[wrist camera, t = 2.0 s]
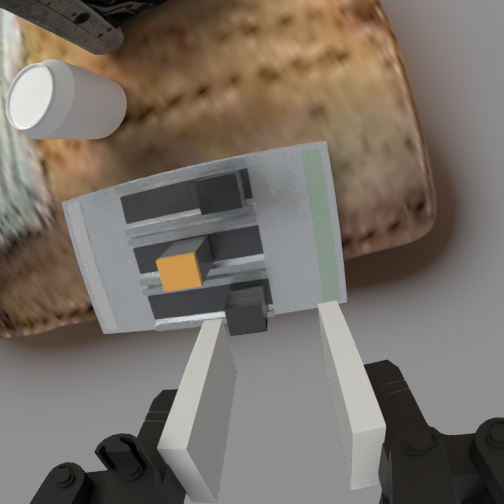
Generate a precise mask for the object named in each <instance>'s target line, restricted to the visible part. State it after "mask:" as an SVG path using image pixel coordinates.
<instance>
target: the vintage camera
mask: <svg viewBox="0 0 504 504" xmlns="http://www.w3.org/2000/svg"><path fill="white" fill-rule="evenodd" d="M166 1H168V0H0V8H3V9H5V10H7V11H9V12H11V13H13V14H15V15H18V16H20V17H22V18H24V19H26V20H28V21H30V22H32V23H34V24H36V25H38V26H40V27H42V28H44V29H46V30H48V31H50V32H52V33H54V34H56V35H58V36H60V37H62V38H64V39H66V40H68V41H70V42H72V43H74V44H76V45H78V46H79V47H81V48H83V49H84V50H86V51H88V52H90V53H93V54H95V55H102V54H107V53H110V52H112V51H114V50H116V49H117V48H119V47H120V46H121V45H122V43H123V41H124V35H123V32H122V30H121V27H120V26H121V25H123V24H125V23H127V22H128V21H130V20H132V19H134V18H136V17H137V16H139V15H140V14H142V13H143V12H145V11H147V10H149V9H152V8H154V7H156V6H158V5H160V4H162V3H164V2H166Z"/></svg>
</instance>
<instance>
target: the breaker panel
mask: <svg viewBox="0 0 504 504" xmlns="http://www.w3.org/2000/svg"><path fill="white" fill-rule="evenodd" d="M62 206H63V210H64V214H65V218H66V222H67V226H68V230H69V233H70V237H71V240H72V244H73V247H74V251H75V254H76V257H77V261H78V264H79V267H80V270H81V273H82V276H83V279H84V282H85V285H86V288H87V291H88V294H89V296H90V299H91V302H92V305H93V307H94V310H95V313H96V315H97V318H98V320H99V323H100V326H101V328H102V330H103V333H104V334H111V333H123V332H135V331H145V330H146V331H147V330H156V331H166V330H176V329H185V328H194V327H202V324H203V322H204V321H206V320H214V319H221V318H222V319H223V323H224V324H228V327H229V331H230V335H231V336H234V335H242V334H250V333H257V332H264V331H267V318H270V317H275V315H276V314H282V313H289V312H295V311H301V310H307V309H313V308H318V304H320V303H325V302H331V301H336V300H337V302H338V304H341V303H346V302H347V294H346V283H345V272H344V262H343V252H342V244H341V235H340V227H339V219H338V212H337V204H336V197H335V190H334V184H333V177H332V171H331V165H330V159H329V153H328V147H327V142H326V141H322V142H314V143H308V144H301V145H295V146H288V147H282V148H276V149H271V150H265V151H259V152H254V153H249V154H243V155H238V156H233V157H228V158H224V159H219V160H214V161H209V162H205V163H200V164H196V165H192V166H187V167H183V168H179V169H175V170H171V171H167V172H163V173H159V174H155V175H151V176H147V177H144V178H140V179H136V180H133V181H129V182H125V183H122V184H118V185H115V186H111V187H108V188H105V189H101V190H98V191H95V192H92V193H88V194H85V195H82V196H79V197H76V198H73V199H70V200H67V201H64V202H62ZM207 235H208V239H209V243H210V248H211V252H212V256H213V261H214V263H213V265H212V267H211V269H210V271H209V273H208V275H207V277H206V279H205V281H204V283H203V285H202V286H201V287H194V288H188V289H181V290H174V291H167V292H164V288H163V285H162V282H161V278H160V275H159V271H158V268H157V264H156V260H157V259H158V258H159V257H160V256H161V255H162V254H163V253H164V252H165V251H166V250H167V249H168V248H169V247H170V246H171V245H172V244H173V243H175V242H176V241H180V240H185V239H190V238H196V237H201V236H207Z"/></svg>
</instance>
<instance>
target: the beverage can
mask: <svg viewBox="0 0 504 504" xmlns="http://www.w3.org/2000/svg"><path fill="white" fill-rule="evenodd" d="M126 109H127V99H126V95H125V92H124V90H123V89H122V87H121V86H120V85H119V84H118V83H116V82H115V81H113V80H110V79H108V78H106V77H103V76H101V75H98V74H96V73H93V72H90V71H88V70H85V69H83V68H80V67H77V66H75V65H72V64H69V63H66V62H63V61H61V60H57V59H50V60H46V61H43V62H41V63H35V64H31V65H29V66H27V67H25V68H24V69H23V70H21V71H20V72H19V73H18V75H17V76H16V77H15V79H14V80H13V82H12V84H11V86H10V88H9V91H8V94H7V99H6V114H7V118H8V120H9V122H10V124H11V125H12V126H13V127H14V128H16V129H18V130H20V131H21V132H22V133H23V134H24V135H25V136H27V137H29V138H32V139H101V138H104V137H107V136H109V135H110V134H112V133H113V132H114V131H115V130H116V129H117V128H118V127H119V126H120V124H121V123H122V121H123V119H124V117H125V113H126Z"/></svg>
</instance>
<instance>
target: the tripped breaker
mask: <svg viewBox="0 0 504 504" xmlns="http://www.w3.org/2000/svg"><path fill="white" fill-rule="evenodd" d="M213 263H214V261H213V256H212V252H211V248H210V243H209V239H208V235H207V236H201V237H196V238H190V239H185V240H180V241H176V242H175V243H173V244H172V245H171V246H170V247H169V248H168V249H167V250H166V251H165V252H164V253H163V254H162V255H161V256H160V257H159V258H158V259H157V260H156V264H157V268H158V271H159V275H160V278H161V282H162V285H163V288H164V292H167V291H174V290H181V289H188V288H194V287H201V286H202V285H203V283H204V281H205V279H206V277H207V275H208V273H209V271H210V269H211V267H212V265H213Z"/></svg>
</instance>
